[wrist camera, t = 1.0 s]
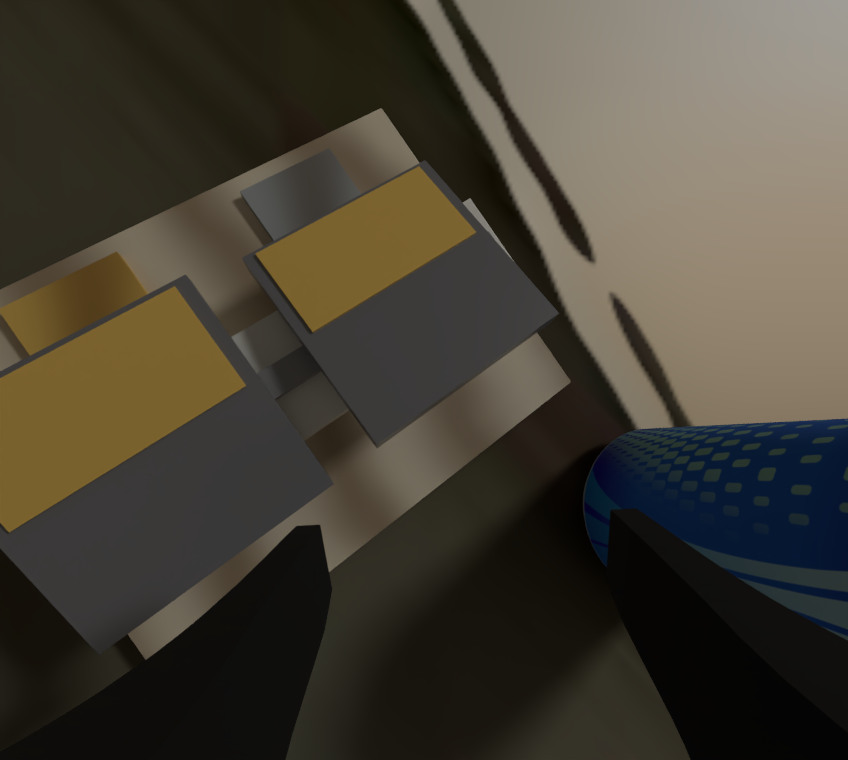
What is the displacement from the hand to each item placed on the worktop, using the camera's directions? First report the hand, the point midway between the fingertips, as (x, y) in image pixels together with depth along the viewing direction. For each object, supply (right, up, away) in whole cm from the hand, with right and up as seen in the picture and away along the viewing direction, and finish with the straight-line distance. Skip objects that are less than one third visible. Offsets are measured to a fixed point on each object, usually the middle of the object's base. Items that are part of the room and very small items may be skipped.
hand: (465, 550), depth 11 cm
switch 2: (-2, +8, +7) cm, 11 cm away
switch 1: (-11, +2, +4) cm, 12 cm away
